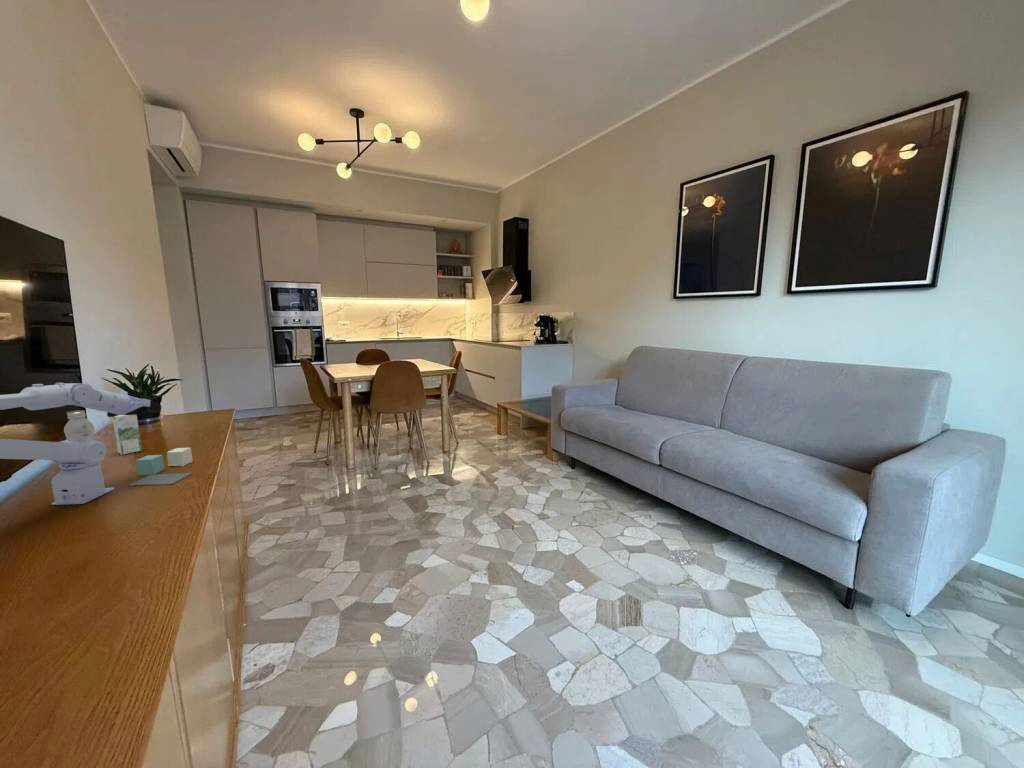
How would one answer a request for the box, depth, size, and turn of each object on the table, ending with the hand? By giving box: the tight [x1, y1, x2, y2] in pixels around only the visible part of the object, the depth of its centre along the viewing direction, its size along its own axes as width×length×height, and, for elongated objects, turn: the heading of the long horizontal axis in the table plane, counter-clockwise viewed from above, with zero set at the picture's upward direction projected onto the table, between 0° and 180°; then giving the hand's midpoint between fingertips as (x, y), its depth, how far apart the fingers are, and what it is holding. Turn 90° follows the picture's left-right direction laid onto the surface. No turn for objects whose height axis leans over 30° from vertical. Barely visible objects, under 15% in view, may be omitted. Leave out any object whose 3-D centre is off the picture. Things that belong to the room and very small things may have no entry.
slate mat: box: [128, 472, 192, 487], centre depth 124 cm, size 8×12×1 cm, turn 94°
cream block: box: [166, 447, 194, 467], centre depth 137 cm, size 4×4×5 cm
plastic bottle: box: [63, 409, 102, 464], centre depth 128 cm, size 6×7×20 cm
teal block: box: [135, 454, 165, 476], centre depth 130 cm, size 4×4×5 cm
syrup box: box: [111, 414, 143, 456], centre depth 149 cm, size 6×6×14 cm
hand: (148, 410), depth 132 cm, fingers open, 7 cm apart
